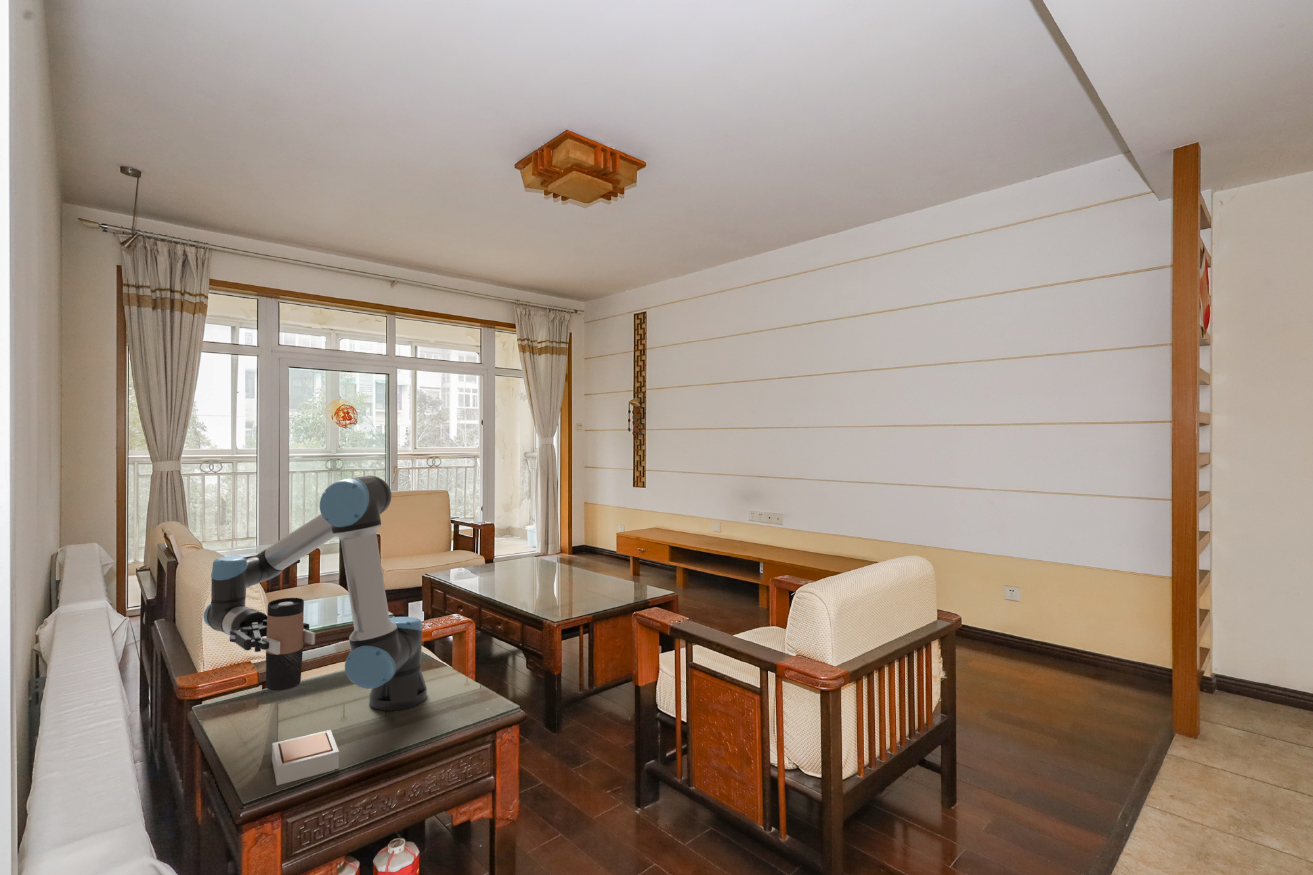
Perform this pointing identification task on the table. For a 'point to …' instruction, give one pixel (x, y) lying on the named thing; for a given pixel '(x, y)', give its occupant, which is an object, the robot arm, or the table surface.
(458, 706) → the table surface
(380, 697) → the robot arm
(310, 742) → the pink flat block
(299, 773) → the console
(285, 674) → the travel mug
